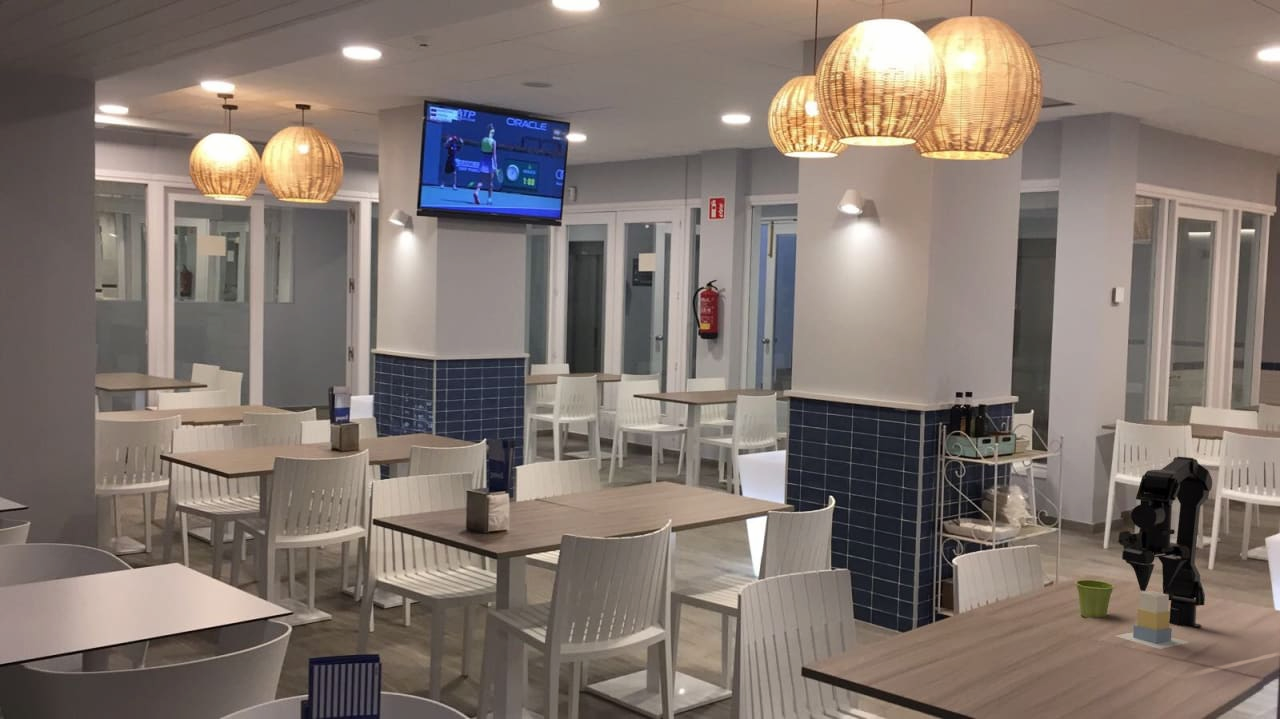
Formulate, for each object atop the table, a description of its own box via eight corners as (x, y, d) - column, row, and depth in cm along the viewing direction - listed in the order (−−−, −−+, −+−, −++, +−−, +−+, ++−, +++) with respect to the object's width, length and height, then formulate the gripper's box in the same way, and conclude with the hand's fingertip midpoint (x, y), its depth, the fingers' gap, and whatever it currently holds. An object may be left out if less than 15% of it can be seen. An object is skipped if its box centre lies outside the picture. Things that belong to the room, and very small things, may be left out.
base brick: (1148, 634, 278) (1148, 622, 278) (1171, 640, 273) (1171, 628, 273) (1133, 637, 275) (1133, 625, 274) (1155, 643, 270) (1156, 631, 269)
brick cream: (1150, 607, 277) (1151, 590, 276) (1167, 611, 273) (1168, 594, 273) (1139, 609, 274) (1140, 592, 274) (1156, 613, 270) (1157, 596, 270)
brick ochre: (1149, 623, 277) (1150, 606, 277) (1168, 628, 273) (1169, 611, 273) (1137, 625, 274) (1138, 609, 274) (1156, 630, 270) (1157, 614, 270)
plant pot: (1107, 623, 290) (1108, 590, 290) (1069, 616, 296) (1070, 583, 295) (1117, 616, 297) (1118, 583, 297) (1079, 610, 303) (1081, 577, 303)
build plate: (1144, 633, 282) (1144, 629, 282) (1189, 645, 272) (1190, 642, 272) (1114, 639, 276) (1114, 635, 276) (1159, 652, 265) (1160, 648, 265)
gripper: (1150, 516, 284) (1147, 578, 285) (1103, 521, 274) (1100, 585, 275) (1192, 523, 275) (1189, 587, 276) (1145, 529, 265) (1142, 595, 266)
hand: (1154, 588), depth 273 cm, fingers open, 9 cm apart
